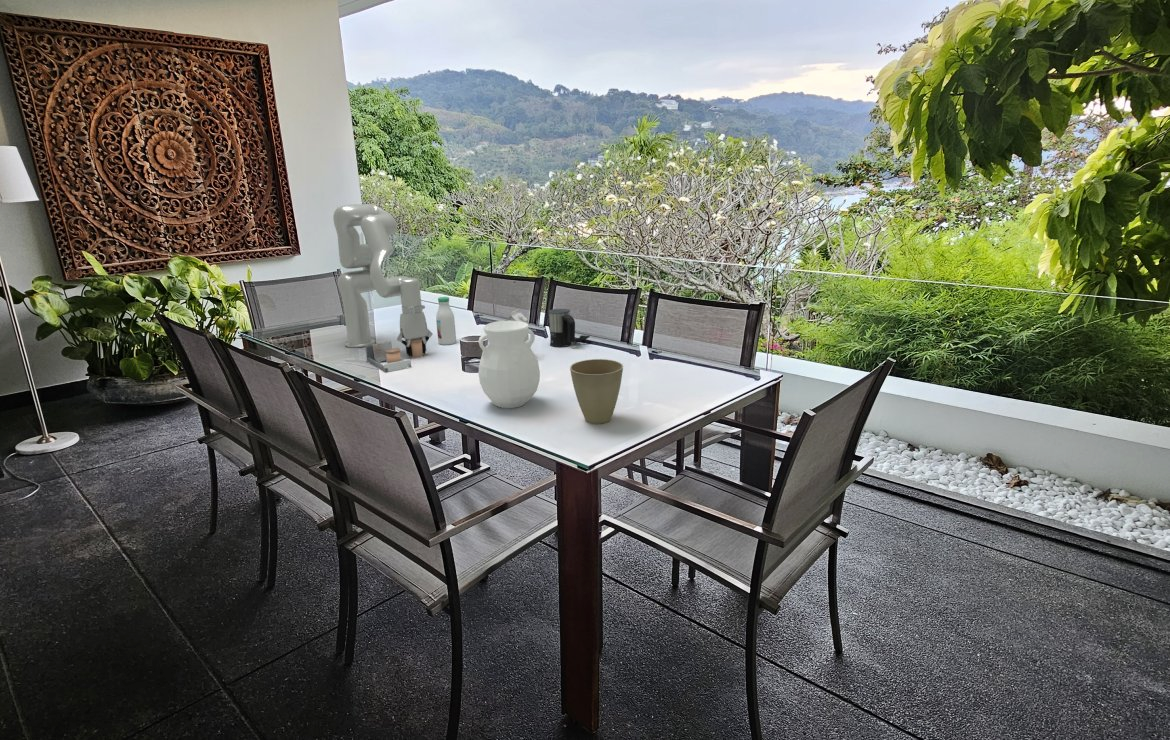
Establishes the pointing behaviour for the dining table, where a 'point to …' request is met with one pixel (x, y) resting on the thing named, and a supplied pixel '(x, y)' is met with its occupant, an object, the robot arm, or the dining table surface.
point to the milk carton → (518, 319)
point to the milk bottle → (445, 322)
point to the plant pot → (597, 387)
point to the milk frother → (562, 328)
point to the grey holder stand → (387, 366)
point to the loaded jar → (393, 355)
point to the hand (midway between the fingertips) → (416, 353)
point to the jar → (416, 347)
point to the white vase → (508, 364)
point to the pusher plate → (381, 350)
